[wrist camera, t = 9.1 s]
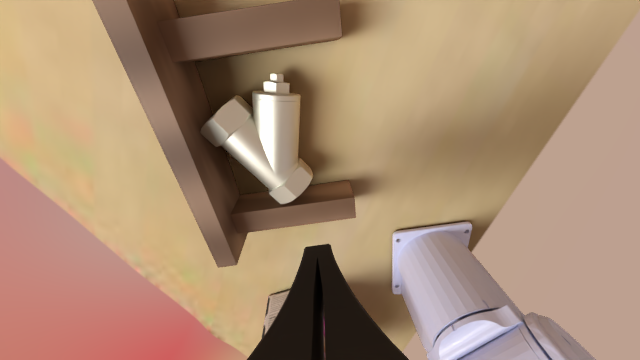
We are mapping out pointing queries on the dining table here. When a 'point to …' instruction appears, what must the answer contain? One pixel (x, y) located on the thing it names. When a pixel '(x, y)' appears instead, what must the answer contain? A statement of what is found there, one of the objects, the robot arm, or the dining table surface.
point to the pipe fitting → (264, 137)
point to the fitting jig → (194, 111)
